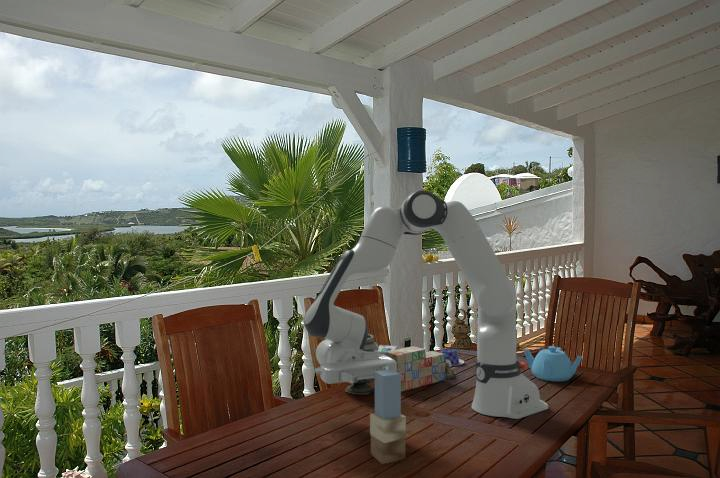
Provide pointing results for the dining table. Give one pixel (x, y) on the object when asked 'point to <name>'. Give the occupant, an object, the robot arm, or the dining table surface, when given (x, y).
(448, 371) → the eagle figurine
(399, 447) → the tower base
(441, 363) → the stack of blocks
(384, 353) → the light bulb box
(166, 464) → the dining table surface
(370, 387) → the apothecary jar
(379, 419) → the tower top
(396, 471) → the dining table surface
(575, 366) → the teapot
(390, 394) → the pillar
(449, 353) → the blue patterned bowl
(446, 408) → the dining table surface
